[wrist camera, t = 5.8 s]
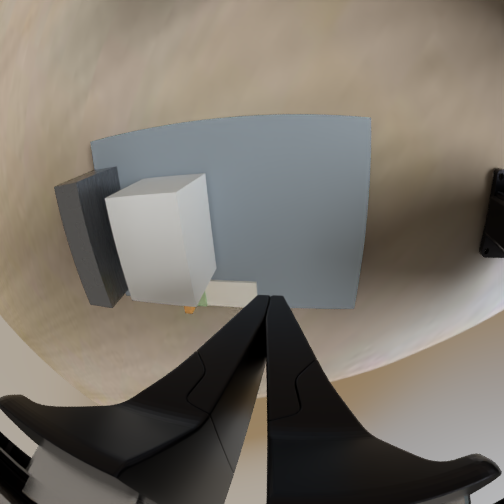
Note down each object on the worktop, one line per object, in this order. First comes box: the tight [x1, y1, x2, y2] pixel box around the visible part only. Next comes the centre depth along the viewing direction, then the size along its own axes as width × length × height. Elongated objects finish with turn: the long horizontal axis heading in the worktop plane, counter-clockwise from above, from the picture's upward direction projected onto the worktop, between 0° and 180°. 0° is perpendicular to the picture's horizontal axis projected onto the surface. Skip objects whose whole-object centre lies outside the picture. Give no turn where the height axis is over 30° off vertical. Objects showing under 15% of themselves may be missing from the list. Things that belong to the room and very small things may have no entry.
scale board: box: [91, 114, 371, 309], centre depth 17 cm, size 17×12×2 cm
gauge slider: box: [105, 173, 217, 314], centre depth 15 cm, size 4×9×4 cm, turn 4°
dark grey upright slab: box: [54, 166, 128, 308], centre depth 16 cm, size 2×8×4 cm, turn 4°
